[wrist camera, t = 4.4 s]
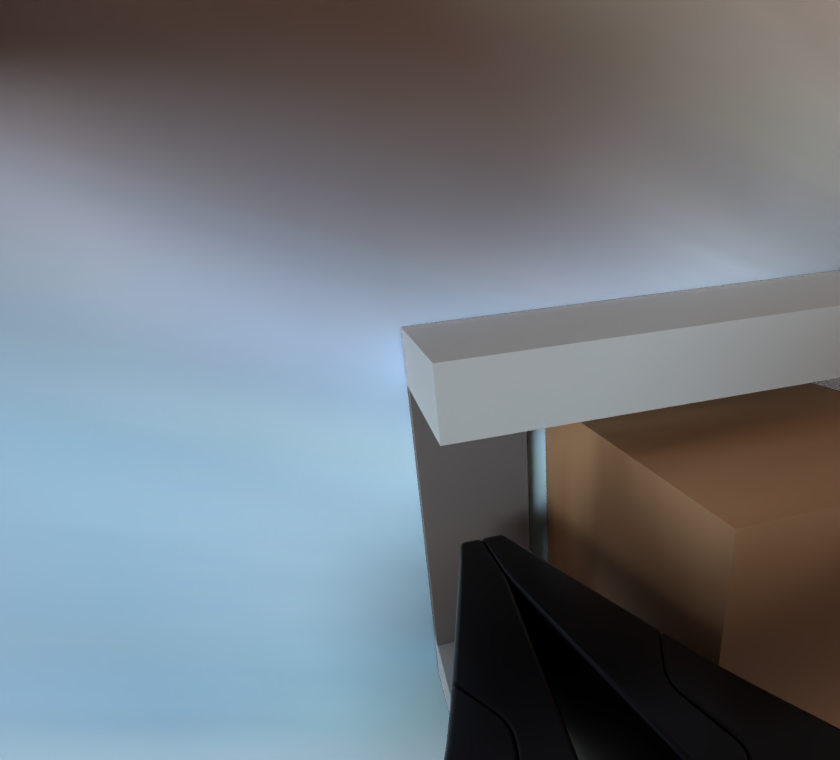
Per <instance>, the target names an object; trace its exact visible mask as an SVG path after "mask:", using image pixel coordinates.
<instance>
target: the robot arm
mask: <svg viewBox="0 0 840 760" xmlns="http://www.w3.org/2000/svg"><path fill="white" fill-rule="evenodd" d="M444 760H840V729H839V728H837V727H835V726H833V725H831V724H829V723H827V722H826V721H824V720H822V719H820V718H818V717H816V716H814V715H812V714H810V713H808V712H806V711H804V710H802V709H800V708H798V707H796V706H794V705H792V704H791V703H789V702H787V701H785V700H783V699H781V698H779V697H777V696H775V695H773V694H771V693H769V692H767V691H765V690H763V689H762V688H760V687H758V686H756V685H754V684H752V683H750V682H748V681H747V680H745V679H743V678H741V677H739V676H737V675H735V674H733V673H732V672H730V671H728V670H726V669H724V668H722V667H721V666H719V665H717V664H715V663H714V662H712V661H710V660H709V659H707V658H705V657H703V656H702V655H700V654H698V653H696V652H695V651H693V650H691V649H690V648H688V647H686V646H685V645H683V644H681V643H680V642H678V641H676V640H675V639H673V638H671V637H670V636H668V635H666V634H665V633H661V634H660V633H659V630H658V629H656V628H655V627H653V626H651V625H650V624H648V623H646V622H645V621H643V620H642V619H640V618H638V617H637V616H635V615H633V614H632V613H630V612H628V611H627V610H625V609H624V608H622V607H620V606H619V605H617V604H615V603H614V602H612V601H610V600H609V599H607V598H605V597H604V596H602V595H601V594H599V593H597V592H596V591H594V590H592V589H591V588H589V587H587V586H586V585H584V584H583V583H581V582H579V581H578V580H576V579H574V578H573V577H571V576H569V575H568V574H566V573H564V572H563V571H561V570H560V569H558V568H556V567H555V566H553V565H551V564H550V563H548V562H546V561H545V560H543V559H542V558H540V557H538V556H537V555H535V554H533V553H532V552H530V551H528V550H527V549H525V548H523V547H522V546H520V545H519V544H517V543H515V542H514V541H512V540H510V539H509V538H507V537H505V536H503V535H496V536H491V537H486V538H484V539H483V540H482V541H481V540H479V539H477V540H472V541H468V542H463V543H462V544H461V547H460V562H459V578H458V593H457V609H456V625H455V641H454V657H453V672H452V689H451V700H450V715H449V725H448V734H447V744H446V751H445V757H444Z"/></svg>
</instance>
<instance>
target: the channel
mask: <svg viewBox="0 0 840 760" xmlns="http://www.w3.org/2000/svg"><path fill="white" fill-rule="evenodd" d="M401 334H402V343H403V352H404V361H405V370H406V379H407V388H408V397H409V406H410V415H411V424H412V433H413V442H414V451H415V460H416V469H417V478H418V487H419V496H420V505H421V514H422V523H423V532H424V541H425V550H426V559H427V568H428V578H429V587H430V596H431V605H432V614H433V623H434V632H435V641H436V650H437V659H438V668H439V675H440V679H441V683H442V687H443V691H444V695H445V699H446V703H447V707H448V711H449V715H450V700H451V689H452V672H453V657H454V641H455V625H456V609H457V593H458V578H459V562H460V547H461V544H462V543H463V542H468V541H472V540H477V539H479V540H481V541H482V540H483V539H484V538H486V537H491V536H496V535H503V536H505V537H507V538H509V539H510V540H512V541H514V542H515V543H517V544H519V545H520V546H522V547H523V548H525V549H527V550H528V551H530V536H529V501H528V467H527V433H526V431H531V430H537V429H543V428H549V427H555V426H560V425H566V424H572V423H578V422H584V421H590V420H596V419H602V418H607V417H613V416H619V415H625V414H631V413H637V412H643V411H648V410H654V409H660V408H666V407H672V406H678V405H684V404H689V403H695V402H701V401H707V400H713V399H719V398H725V397H730V396H736V395H742V394H748V393H754V392H760V391H766V390H771V389H777V388H783V387H789V386H795V385H801V384H807V383H812V382H818V381H824V380H830V379H836V378H840V270H838V271H830V272H822V273H815V274H807V275H799V276H791V277H784V278H776V279H768V280H760V281H753V282H745V283H737V284H729V285H722V286H714V287H706V288H698V289H691V290H683V291H675V292H667V293H660V294H652V295H644V296H636V297H629V298H621V299H613V300H605V301H598V302H590V303H582V304H574V305H566V306H559V307H551V308H543V309H535V310H528V311H520V312H512V313H504V314H497V315H489V316H481V317H473V318H466V319H458V320H450V321H442V322H435V323H427V324H419V325H411V326H404V327H401Z"/></svg>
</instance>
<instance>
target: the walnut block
mask: <svg viewBox="0 0 840 760" xmlns="http://www.w3.org/2000/svg"><path fill="white" fill-rule="evenodd" d="M545 436H546V488H547V539H548V563H550V564H551V565H553V566H555V567H556V568H558V569H560V570H561V571H563V572H564V573H566V574H568V575H569V576H571V577H573V578H574V579H576V580H578V581H579V582H581V583H583V584H584V585H586V586H587V587H589V588H591V589H592V590H594V591H596V592H597V593H599V594H601V595H602V596H604V597H605V598H607V599H609V600H610V601H612V602H614V603H615V604H617V605H619V606H620V607H622V608H624V609H625V610H627V611H628V612H630V613H632V614H633V615H635V616H637V617H638V618H640V619H642V620H643V621H645V622H646V623H648V624H650V625H651V626H653V627H655V628H656V629H658V630H659V633H660V634H661V633H665V634H666V635H668V636H670V637H671V638H673V639H675V640H676V641H678V642H680V643H681V644H683V645H685V646H686V647H688V648H690V649H691V650H693V651H695V652H696V653H698V654H700V655H702V656H703V657H705V658H707V659H709V660H710V661H712V662H714V663H715V664H717V665H719V666H721V667H722V668H724V669H726V670H728V671H730V672H732V673H733V674H735V675H737V676H739V677H741V678H743V679H745V680H747V681H748V682H750V683H752V684H754V685H756V686H758V687H760V688H762V689H763V690H765V691H767V692H769V693H771V694H773V695H775V696H777V697H779V698H781V699H783V700H785V701H787V702H789V703H791V704H792V705H794V706H796V707H798V708H800V709H802V710H804V711H806V712H808V713H810V714H812V715H814V716H816V717H818V718H820V719H822V720H824V721H826V722H827V723H829V724H831V725H833V726H835V727H837V728H839V729H840V391H838V390H834V389H830V388H827V387H823V386H820V385H816V384H812V383H807V384H801V385H795V386H789V387H783V388H777V389H771V390H766V391H760V392H754V393H748V394H742V395H736V396H730V397H725V398H719V399H713V400H707V401H701V402H695V403H689V404H684V405H678V406H672V407H666V408H660V409H654V410H648V411H643V412H637V413H631V414H625V415H619V416H613V417H607V418H602V419H596V420H590V421H584V422H578V423H572V424H566V425H560V426H555V427H549V428H545Z"/></svg>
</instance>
